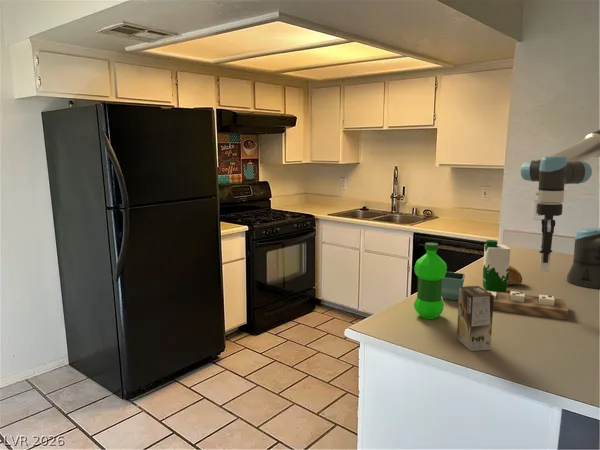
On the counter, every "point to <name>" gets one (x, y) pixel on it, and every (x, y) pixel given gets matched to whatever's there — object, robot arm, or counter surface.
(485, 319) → the coffee box
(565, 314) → the button panel
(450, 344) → the counter surface
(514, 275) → the bread roll
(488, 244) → the milk carton
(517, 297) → the button three
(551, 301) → the button two
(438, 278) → the plastic bottle
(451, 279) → the flower pot
